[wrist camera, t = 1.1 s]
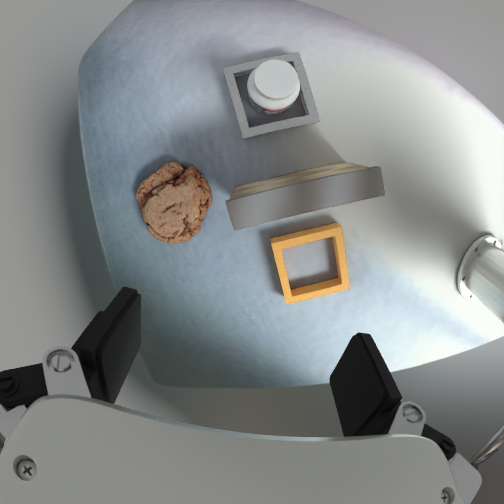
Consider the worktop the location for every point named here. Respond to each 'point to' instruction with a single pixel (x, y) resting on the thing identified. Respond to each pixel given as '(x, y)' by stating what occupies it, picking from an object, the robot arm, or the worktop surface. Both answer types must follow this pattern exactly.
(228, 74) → the collar
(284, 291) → the collar
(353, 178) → the beige brown upright block
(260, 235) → the worktop surface
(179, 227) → the cookie
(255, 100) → the pill bottle
